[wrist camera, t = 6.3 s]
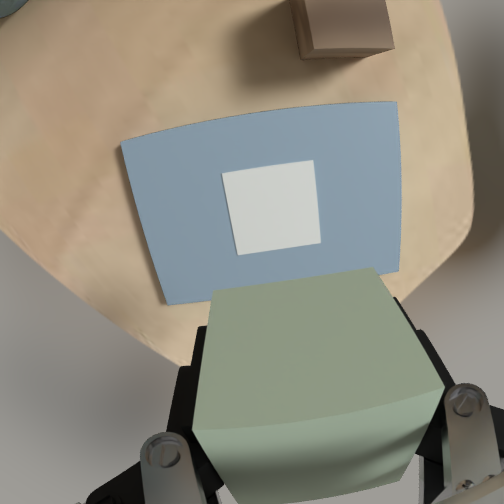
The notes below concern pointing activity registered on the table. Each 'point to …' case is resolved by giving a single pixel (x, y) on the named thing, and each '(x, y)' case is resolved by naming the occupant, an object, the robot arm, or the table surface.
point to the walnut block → (341, 28)
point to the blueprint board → (269, 196)
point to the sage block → (311, 388)
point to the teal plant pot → (10, 6)
